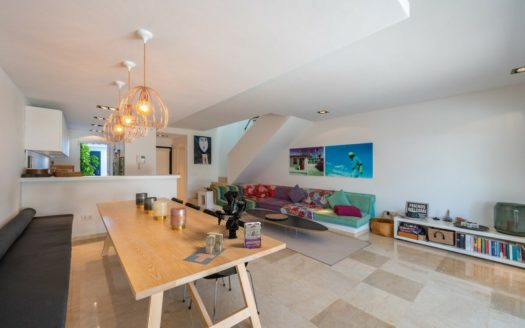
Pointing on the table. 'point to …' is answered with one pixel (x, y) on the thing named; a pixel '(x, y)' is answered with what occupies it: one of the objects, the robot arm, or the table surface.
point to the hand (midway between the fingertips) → (224, 225)
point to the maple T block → (214, 242)
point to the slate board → (203, 256)
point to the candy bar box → (252, 235)
